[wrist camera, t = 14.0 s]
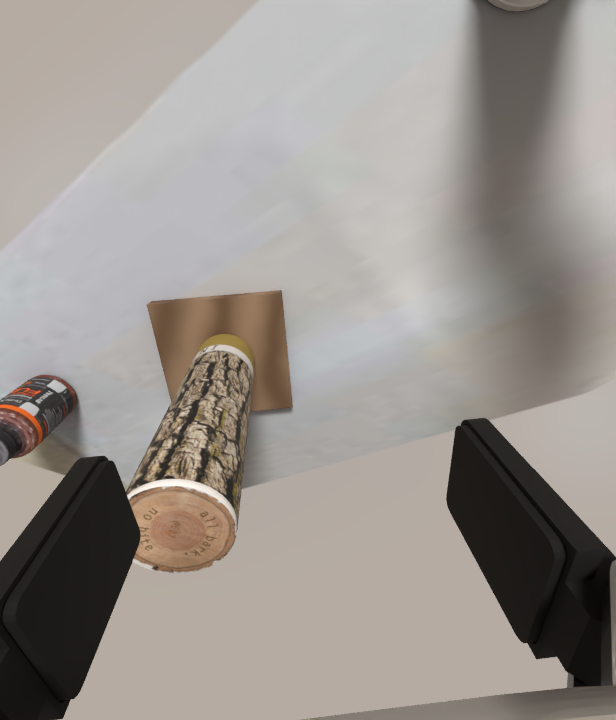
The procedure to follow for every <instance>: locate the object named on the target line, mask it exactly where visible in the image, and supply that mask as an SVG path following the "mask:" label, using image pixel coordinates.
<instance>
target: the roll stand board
mask: <svg viewBox="0 0 616 720" xmlns="http://www.w3.org/2000/svg"><path fill="white" fill-rule="evenodd" d="M147 307H148V311H149V315H150V319H151V323H152V327H153V331H154V335H155V339H156V343H157V347H158V351H159V355H160V359H161V363H162V367H163V371H164V375H165V379H166V383H167V386H168V390H169V394H170V398H171V402H172V400H173V398H174V396H175V394H176V392H177V390H178V389H179V387H180V385H181V383H182V381H183V379H184V377H185V375H186V373H187V371H188V369H189V367H190V365H191V363H192V361H193V359H194V358H195V356H196V354H197V352H198V350H199V348H200V346H201V345H202V344H203V343H204V342H205V341H206V340H207V339H209V338H210V337H212V336H215V335H219V334H230V335H234V336H237V337H239V338H241V339H242V340H244V341H245V342H246V343H247V344H248V345H249V346H250V348H251V350H252V352H253V355H254V359H255V365H254V375H253V385H252V395H251V404H250V411H260V410H270V409H279V408H289V407H293V405H292V395H291V384H290V374H289V363H288V353H287V343H286V332H285V322H284V311H283V301H282V291H281V290H280V291H269V292H257V293H245V294H234V295H222V296H210V297H198V298H187V299H175V300H163V301H152V302H150V303H149V304H147Z"/></svg>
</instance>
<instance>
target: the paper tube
mask: <svg viewBox="0 0 616 720" xmlns="http://www.w3.org/2000/svg"><path fill="white" fill-rule="evenodd" d="M254 365H255V359H254V355H253V352H252V350H251V348H250V346H249V345H248V344H247V343H246V342H245V341H244V340H242V339H241V338H239V337H237V336H234V335H230V334H219V335H215V336H212V337H210V338H209V339H207V340H206V341H205V342H204V343H203V344H202V345H201V346H200V348H199V350H198V352H197V354H196V356H195V358H194V359H193V361H192V363H191V365H190V367H189V369H188V371H187V373H186V375H185V377H184V379H183V381H182V383H181V385H180V387H179V389H178V390H177V392H176V394H175V396H174V398H173V400H172V402H171V404H170V406H169V408H168V410H167V412H166V414H165V416H164V418H163V420H162V422H161V424H160V426H159V428H158V430H157V432H156V434H155V436H154V437H153V439H152V441H151V443H150V445H149V447H148V449H147V451H146V453H145V455H144V457H143V459H142V461H141V463H140V465H139V467H138V469H137V471H136V473H135V475H134V477H133V479H132V481H131V483H130V485H129V486H128V488H127V490H126V494H127V497H128V500H129V502H130V505H131V508H132V510H133V513H134V516H135V518H136V521H137V523H138V526H139V529H140V534H141V537H140V543H139V546H138V549H137V551H136V554H135V556H134V559H133V562H134V563H136V564H138V565H140V566H142V567H144V568H147V569H150V570H153V571H158V572H163V573H173V574H175V573H177V574H178V573H189V572H195V571H199V570H202V569H205V568H207V567H210V566H212V565H213V564H215V563H217V562H218V561H220V560H221V559H222V558H223V557H224V556H226V555H227V553H228V552H229V551H230V549H231V548H232V546H233V544H234V541H235V538H236V532H237V525H238V517H239V507H240V498H241V489H242V479H243V470H244V460H245V451H246V442H247V432H248V423H249V414H250V404H251V395H252V385H253V375H254Z"/></svg>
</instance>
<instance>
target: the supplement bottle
mask: <svg viewBox="0 0 616 720" xmlns="http://www.w3.org/2000/svg"><path fill="white" fill-rule="evenodd" d="M75 405H76V395H75V392H74V390H73V389H72V387H71V386H70V385H69V384H68V383H67V382H65V381H64V380H62V379H60V378H58V377H55V376H51V375H40V376H36V377H34V378H32V379H30V380H28V381H27V382H25V383H24V384H22V385H21V386H20V387H18V388H17V389H15V390H14V391H13V392H11V393H10V394H8V395H7V396H6V397H4V398H2V399H1V400H0V466H1V465H3V464H4V463H6V462H7V461H8V460H9V459H11V458H18V457H22V456H24V455H26V454H28V453H30V452H31V451H32V450H33V449H34V448H35V447H36V446H37V445H38V444H40V443H41V441H43V440H44V438H45V437H46V436H47V435H48V434H49V433H50V432H51V431H52V430H53V429H54V428H55V427H56V426H57V425H58V424H60V422H62V420H63V419H64V418H65V417H66V416H67V415H68V414H69V413H70V412H71V411H72V410H73V409H74V407H75Z"/></svg>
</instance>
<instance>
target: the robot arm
mask: <svg viewBox="0 0 616 720" xmlns="http://www.w3.org/2000/svg"><path fill="white" fill-rule="evenodd" d="M488 1H489V2H490V3H492V4H493V5H495V6H496V7H499V8H502V9H504V10H507V11H518V12H519V11H525V10H531V9H534V8H536V7H538V6H541V5H543V4H545V3H546V2H548V1H549V0H488ZM447 505H448V508H449V511H450V513H451V515H452V517H453V518H454V520H455V522H456V524H457V526H458V528H459V530H460V531H461V533H462V535H463V537H464V539H465V541H466V543H467V545H468V546H469V548H470V550H471V552H472V554H473V555H474V557H475V559H476V561H477V563H478V565H479V567H480V569H481V570H482V572H483V574H484V576H485V578H486V579H487V582H488V584H489V585H490V587H491V589H492V591H493V593H494V595H495V596H496V598H497V600H498V602H499V604H500V606H501V608H502V610H503V611H504V613H505V615H506V617H507V619H508V621H509V623H510V624H511V626H512V628H513V630H514V632H515V634H516V635H517V637H518V638H519V640H520V641H521V642H523V643H528V645H529V647H530V648H531V650H532V652H533V654H534V656H535V658H536V659H540V658H549V657H558V659H559V660H560V662H561V663H562V665H563V667H564V669H565V670H566V671H567V672H568V680H567V688H564V689H554V690H544V691H534V692H525V693H514V694H504V695H495V696H487V697H479V698H471V699H463V700H454V701H447V702H438V703H430V704H422V705H414V706H405V707H398V708H389V709H381V710H374V711H365V712H357V713H350V714H342V715H334V716H326V717H318V718H310V719H303V720H616V557H615V556H614V555H613V554H612V552H611V551H610V550H609V549H608V548H607V547H606V546H605V545H604V544H603V543H602V542H601V541H600V539H599V538H598V537H596V535H595V534H594V533H593V532H592V531H591V530H590V529H589V528H588V527H587V526H586V524H584V522H583V521H582V520H581V519H580V518H579V517H578V516H577V515H576V514H575V513H574V512H573V510H572V509H571V508H570V507H569V506H568V505H567V504H566V503H565V502H564V501H563V500H562V498H560V496H559V495H558V494H557V493H556V492H555V491H554V490H553V489H552V488H551V487H550V486H549V484H548V483H547V482H546V481H545V480H544V479H543V478H542V477H541V476H540V475H539V474H538V473H537V472H536V470H535V469H533V468H532V467H531V466H530V465H529V464H528V462H527V461H526V460H525V459H524V458H523V457H522V456H521V455H520V454H519V453H518V452H517V451H516V449H515V448H514V447H513V446H512V445H511V444H510V443H509V442H508V441H507V440H506V439H505V438H504V437H503V435H502V434H501V433H500V432H499V431H498V430H497V429H496V428H495V427H494V426H493V425H492V424H491V423H490V421H489V420H487V419H486V418H479V419H469V420H464V421H463V422H462V423H461V426H457V427H456V430H455V438H454V445H453V452H452V459H451V467H450V474H449V482H448V489H447ZM140 537H141V534H140V529H139V526H138V523H137V521H136V518H135V516H134V513H133V510H132V508H131V505H130V502H129V500H128V497H127V494H126V492H125V489H124V487H123V484H122V481H121V479H120V476H119V473H118V471H117V468H116V466H115V463H114V462H113V461H109V460H108V459H107V458H106V457H105V456H96V457H86V458H80V459H79V460H77V461H76V463H75V464H74V465H73V467H72V468H71V469H70V470H69V472H68V473H67V474H66V476H65V477H64V478H63V480H62V481H61V482H60V484H59V485H58V486H57V488H56V489H55V490H54V491H53V493H52V494H51V495H50V497H49V498H48V499H47V501H46V502H45V504H44V505H43V506H42V507H41V509H40V510H39V511H38V513H37V514H36V515H35V516H34V518H33V519H32V521H31V522H30V523H29V524H28V526H27V527H26V528H25V530H24V531H23V532H22V534H21V535H20V536H19V537H18V539H17V540H16V541H15V543H14V544H13V545H12V547H11V548H10V549H9V551H8V552H7V553H6V555H5V556H4V557H3V558H2V560H1V561H0V720H57V719H63V717H64V714H65V712H66V709H67V707H68V705H69V702H70V700H71V699H74V698H75V697H76V696H77V695H78V694H79V692H80V690H81V688H82V686H83V683H84V681H85V678H86V676H87V673H88V671H89V668H90V666H91V663H92V661H93V658H94V656H95V653H96V651H97V649H98V646H99V643H100V641H101V639H102V636H103V634H104V631H105V628H106V626H107V623H108V621H109V619H110V616H111V613H112V611H113V609H114V606H115V603H116V601H117V599H118V596H119V594H120V591H121V589H122V586H123V584H124V581H125V579H126V576H127V573H128V571H129V569H130V566H131V564H132V561H133V559H134V556H135V554H136V551H137V549H138V546H139V543H140Z"/></svg>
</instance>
